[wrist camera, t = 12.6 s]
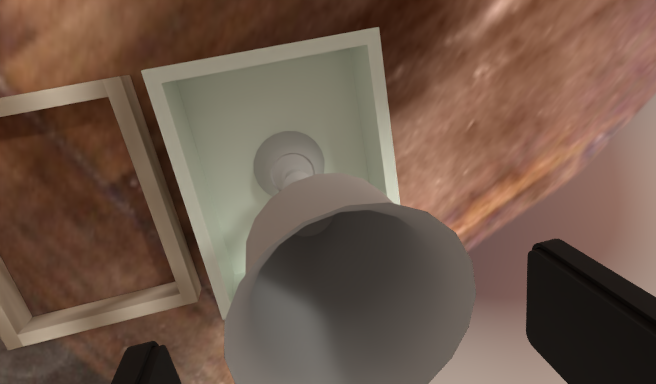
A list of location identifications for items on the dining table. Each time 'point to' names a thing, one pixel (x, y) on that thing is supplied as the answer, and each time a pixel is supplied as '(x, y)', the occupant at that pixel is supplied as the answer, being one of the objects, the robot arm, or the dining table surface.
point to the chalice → (342, 280)
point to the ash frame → (4, 297)
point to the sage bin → (268, 131)
